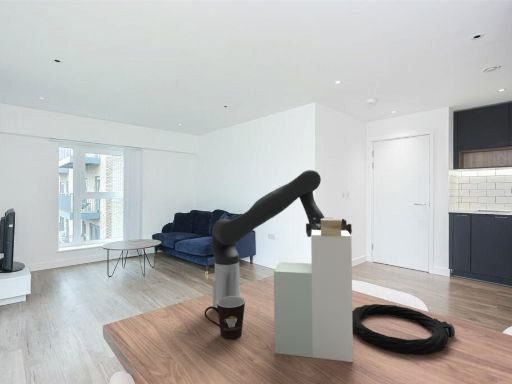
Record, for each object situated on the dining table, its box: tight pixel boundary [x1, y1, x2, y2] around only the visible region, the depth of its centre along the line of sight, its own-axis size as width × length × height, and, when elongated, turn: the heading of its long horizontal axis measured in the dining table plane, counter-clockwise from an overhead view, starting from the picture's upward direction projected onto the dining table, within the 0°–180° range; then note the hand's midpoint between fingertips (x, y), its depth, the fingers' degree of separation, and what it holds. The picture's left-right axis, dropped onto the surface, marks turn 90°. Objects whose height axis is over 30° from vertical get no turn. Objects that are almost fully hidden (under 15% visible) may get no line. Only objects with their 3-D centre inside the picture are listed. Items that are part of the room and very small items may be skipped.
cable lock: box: [352, 303, 456, 355], centre depth 86 cm, size 28×4×30 cm
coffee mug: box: [204, 296, 246, 341], centre depth 85 cm, size 12×9×10 cm
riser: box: [273, 230, 354, 363], centre depth 77 cm, size 10×20×32 cm, turn 77°
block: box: [321, 216, 342, 236], centre depth 80 cm, size 19×5×4 cm, turn 167°
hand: (328, 221), depth 85 cm, fingers open, 8 cm apart
